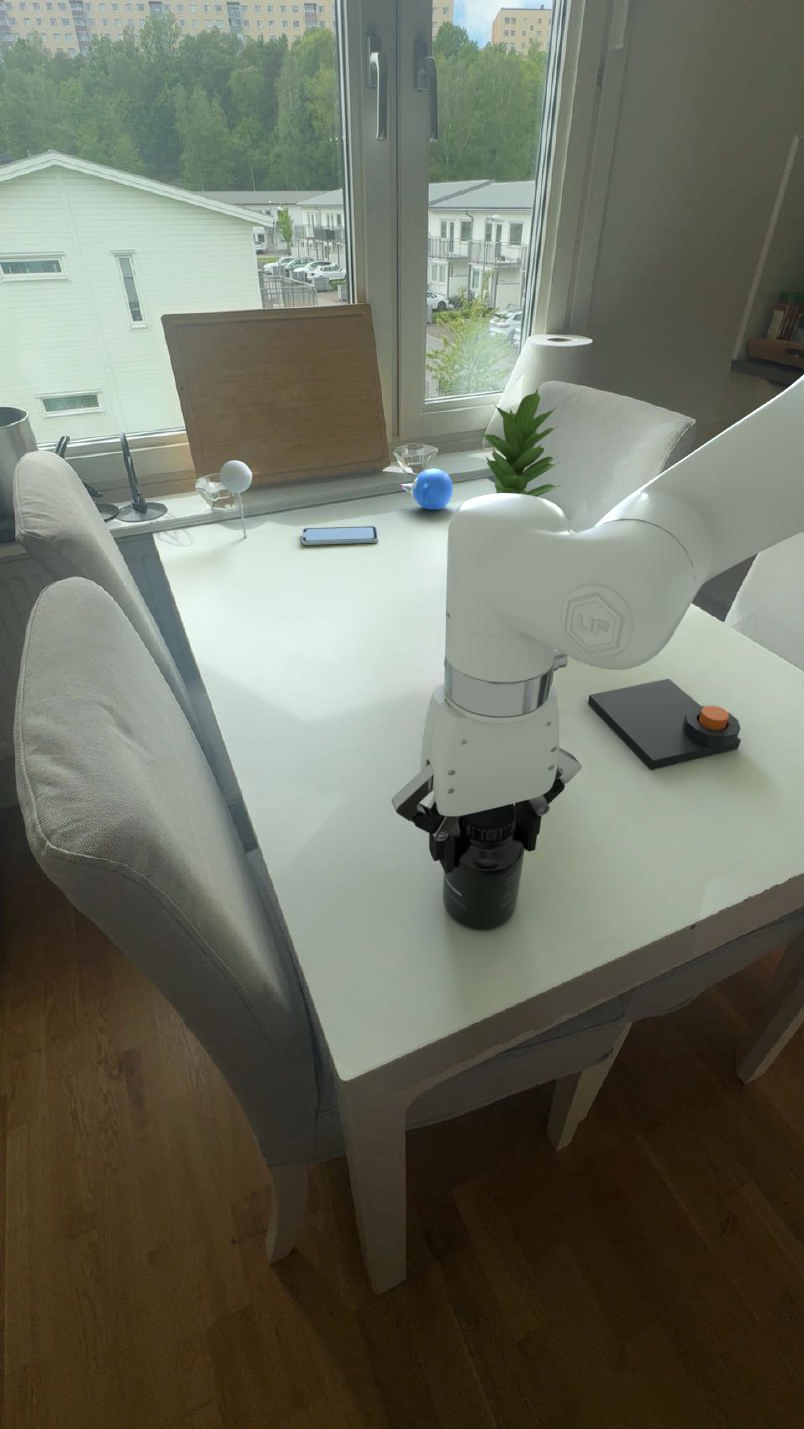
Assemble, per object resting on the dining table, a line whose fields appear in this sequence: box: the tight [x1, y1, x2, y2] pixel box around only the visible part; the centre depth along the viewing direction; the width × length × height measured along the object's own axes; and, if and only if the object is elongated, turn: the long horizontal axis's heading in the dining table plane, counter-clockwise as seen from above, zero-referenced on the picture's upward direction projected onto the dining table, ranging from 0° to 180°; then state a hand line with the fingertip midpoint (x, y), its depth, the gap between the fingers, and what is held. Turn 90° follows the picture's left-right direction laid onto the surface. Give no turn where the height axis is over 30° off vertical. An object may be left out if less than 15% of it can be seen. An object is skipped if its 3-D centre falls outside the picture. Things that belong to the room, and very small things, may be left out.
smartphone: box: [301, 525, 379, 546], centre depth 136 cm, size 7×1×15 cm
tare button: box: [699, 705, 729, 730], centre depth 80 cm, size 3×3×2 cm
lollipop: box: [219, 460, 253, 538], centre depth 133 cm, size 6×6×15 cm
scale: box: [587, 678, 742, 771], centre depth 83 cm, size 14×12×3 cm
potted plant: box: [480, 388, 563, 507], centre depth 111 cm, size 15×15×30 cm
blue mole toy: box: [399, 468, 454, 511], centre depth 147 cm, size 12×12×8 cm
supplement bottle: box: [442, 803, 525, 931], centre depth 59 cm, size 7×7×12 cm
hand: (483, 849), depth 59 cm, fingers closed on supplement bottle, 6 cm apart
